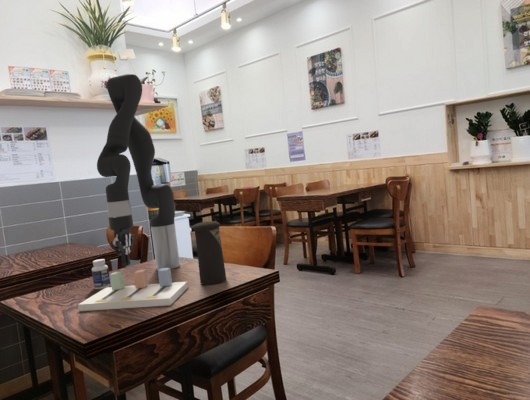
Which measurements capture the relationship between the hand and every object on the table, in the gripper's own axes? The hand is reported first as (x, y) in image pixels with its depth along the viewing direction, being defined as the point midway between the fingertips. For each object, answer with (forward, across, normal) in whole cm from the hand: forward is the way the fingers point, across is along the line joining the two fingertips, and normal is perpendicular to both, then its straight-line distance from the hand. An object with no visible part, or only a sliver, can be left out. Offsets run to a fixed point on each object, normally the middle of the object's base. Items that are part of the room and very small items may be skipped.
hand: (126, 265), depth 137 cm
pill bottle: (+8, -4, -12) cm, 15 cm away
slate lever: (+6, +7, +16) cm, 19 cm away
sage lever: (+6, +8, 0) cm, 9 cm away
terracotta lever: (+6, +7, +8) cm, 13 cm away
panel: (+8, +12, +8) cm, 17 cm away
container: (+8, -1, +29) cm, 30 cm away
